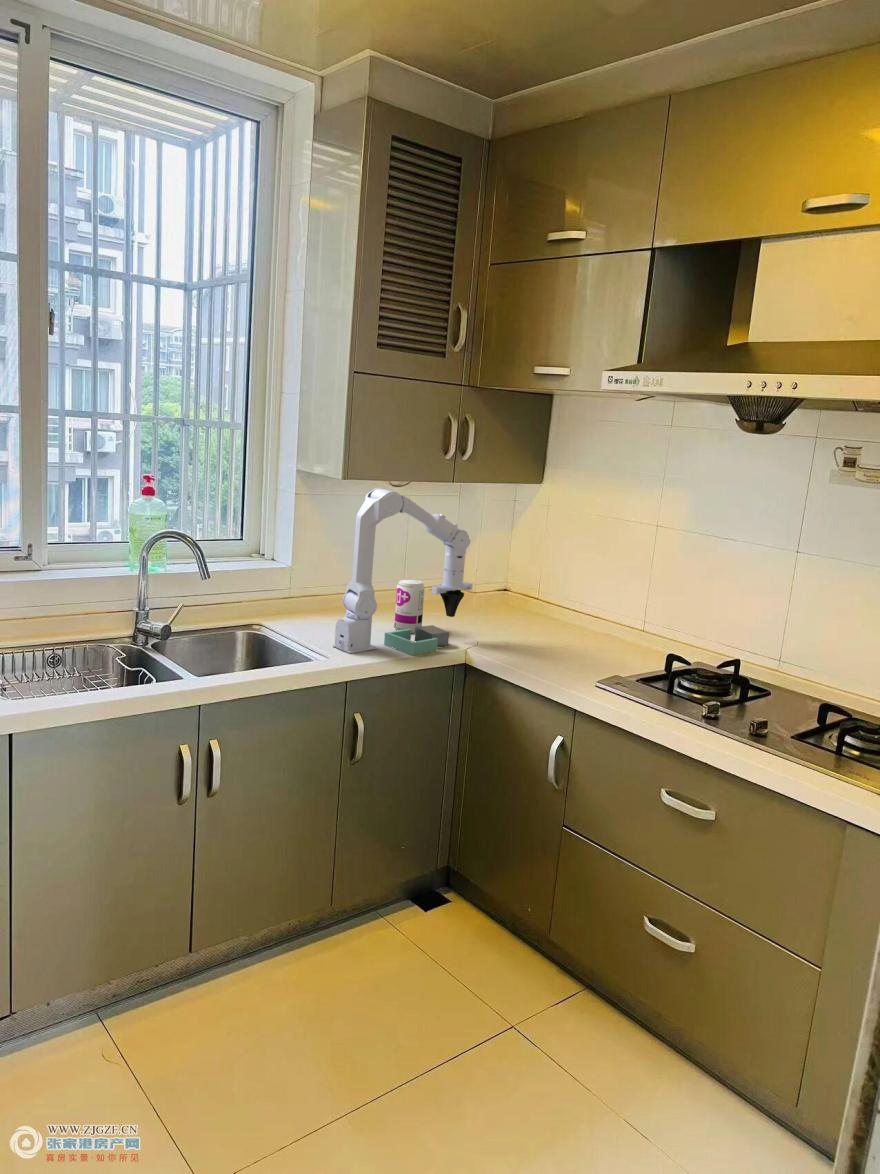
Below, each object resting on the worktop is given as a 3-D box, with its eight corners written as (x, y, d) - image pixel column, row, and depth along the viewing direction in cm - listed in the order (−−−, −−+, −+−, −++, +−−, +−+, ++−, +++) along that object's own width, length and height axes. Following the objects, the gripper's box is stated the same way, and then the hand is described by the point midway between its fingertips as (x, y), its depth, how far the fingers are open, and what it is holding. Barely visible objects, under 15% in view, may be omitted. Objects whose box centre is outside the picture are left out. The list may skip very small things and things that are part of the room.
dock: (412, 655, 238) (413, 643, 237) (384, 644, 246) (384, 632, 245) (436, 651, 244) (437, 638, 243) (408, 640, 252) (408, 628, 252)
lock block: (430, 649, 246) (431, 634, 245) (414, 642, 252) (415, 627, 251) (447, 647, 249) (449, 632, 248) (431, 640, 256) (432, 625, 255)
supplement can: (405, 635, 258) (408, 585, 255) (388, 628, 264) (391, 579, 261) (426, 632, 263) (430, 583, 260) (410, 625, 269) (413, 577, 266)
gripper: (445, 574, 243) (441, 622, 246) (481, 570, 253) (477, 616, 256) (428, 569, 248) (424, 616, 251) (464, 566, 258) (460, 610, 261)
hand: (450, 616), depth 254 cm, fingers closed
